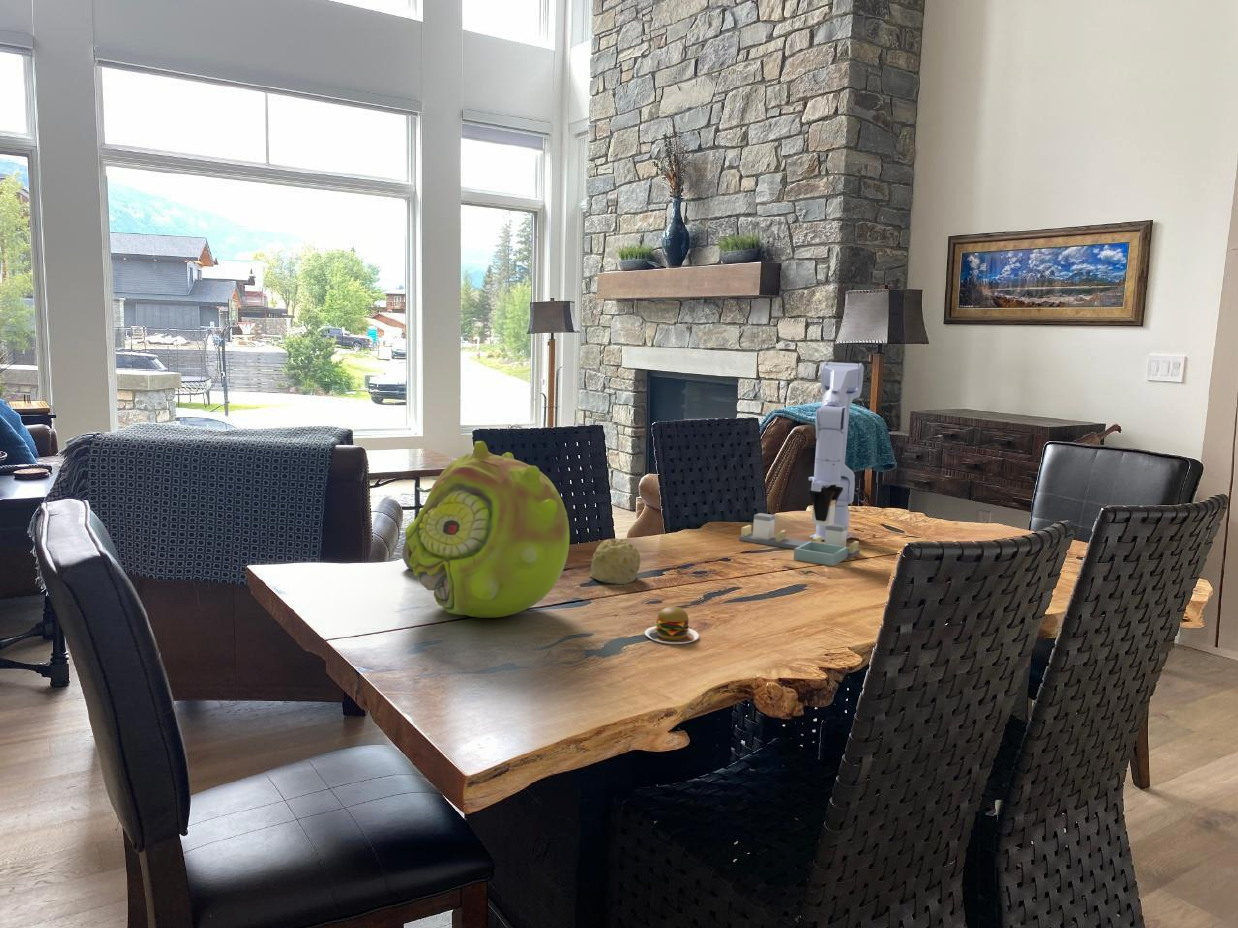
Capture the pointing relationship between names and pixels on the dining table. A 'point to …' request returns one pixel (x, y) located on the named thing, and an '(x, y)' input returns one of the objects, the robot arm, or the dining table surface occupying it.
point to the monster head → (489, 536)
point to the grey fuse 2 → (836, 534)
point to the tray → (820, 553)
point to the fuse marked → (830, 515)
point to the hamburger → (672, 625)
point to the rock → (615, 562)
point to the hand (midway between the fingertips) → (823, 519)
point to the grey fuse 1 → (763, 526)
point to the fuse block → (789, 541)
